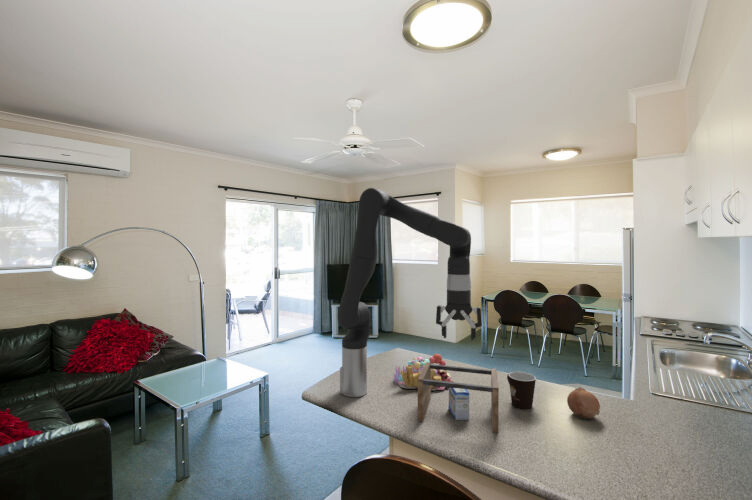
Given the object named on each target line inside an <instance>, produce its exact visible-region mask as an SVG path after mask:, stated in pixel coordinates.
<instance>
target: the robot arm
mask: <svg viewBox="0 0 752 500" xmlns="http://www.w3.org/2000/svg"><path fill="white" fill-rule="evenodd" d="M357 207H358V209H357V222H356V228H355V234H354V240H353V243H352V250H351V254H350V259H349V264H348V270H347V274H346V275H347V277H346V280H345V286H344V289H343V294H342V296H341V299H340V302H339V303H340V304H339V306H338V311H337V322H338V324H339V326H340V328H341V329H343V330H348V332H347V333H346V335H344V336H343V338H342V340H341V366H340V368H339V394H340V395H343V396H345V397H347V398H360V397H363V396H365V395H366V394H367V393H368V342H369V341H368V340H369V338H370V327H371V326H370V325H371V315H370V309H369V307H368V306H367V304H366V303H365V302H364V301H363V302H362V301H360V299H361V296H362V294H363V291H364V290H365V288H366V286H367V285H368V283H369V281H370V279H371V278H372V276H373V275H374V272H375V269H376V264H377V259H378V243H377V225H378V220H379V218H380V216H383V217H387V218H390V219H394V220H395V221H398V222H401V223H402V224H404V225H406V226H408V227H409V228H411V229H412V230H415V231H416V232H418V233H420V234H423V235H425V236H428V237H429V238H433V239H435V240H437V241H440V242H442V243H443V244H445V245H447V246H448V247H449V257H448V259H447V278H446V305H445V306H444V305H442V304H441V305H440V304H438V305H437V306H436V313H435V324H437V325H439V326H441V337H443V339H447V331H448V329H447V324H448V323H449V321H451V319H452V320H453V321H457V320H458V321H466V322H467V323H468V324H469V326H471V327H470V340H471V341H474V340H475V339H476V336H477V329H478V328H481V327H482V326H483V325H482V323H483V322H482V321H483V320H482V308H481V306H477V307H473V306H472V302H471V301H472V299H471V294H472V293H471V291H472V290H471V289H472V284H471V283H472V282H471V274H470V273H471V261H470V256H471V246H472V237H471V232H470V231H469V230H468V229H467V228H466V227H465V226H464V227H463V226H461V225H458V224H456V223H452V222H450V221H447V220H444V219H443V218H441V217H439V216H436V215H434V214H432V213H429V212H427V211H425V210H421V209H420V208H416V207H414V206H410V205H408V204H406V203H403V202H402V201H399V200H398V199H396V198H395V197H393V196H392V195H390V194H389V193H388V192H386V191H385V190H382V189H379V188H374V187H370V188H366V189H364V190H363V191H362V193H361V195H360V197H359V200H358V206H357ZM444 311H445V312H446V313H447V314H448V315H447V316H446V318H445V319H444V320H442V318H441V317H442V313H443V312H444ZM472 312H473V313H474V314H475V315H476V319H477V322H475V321H474V320H473V319H472V317H471V313H472Z"/></svg>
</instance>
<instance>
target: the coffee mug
mask: <svg viewBox="0 0 752 500" xmlns="http://www.w3.org/2000/svg"><path fill="white" fill-rule="evenodd" d="M506 379H507V382H508V385H509V392H510V400H511V405H512V407H513V408H515V409H517V410H521V411H529V410H531V409H533V403H534V395H535V388H536V382H537V377H536V376H535V375H533V374H531V373H528V372H524V371H511V372H509V373H508V374H507V375H506Z"/></svg>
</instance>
